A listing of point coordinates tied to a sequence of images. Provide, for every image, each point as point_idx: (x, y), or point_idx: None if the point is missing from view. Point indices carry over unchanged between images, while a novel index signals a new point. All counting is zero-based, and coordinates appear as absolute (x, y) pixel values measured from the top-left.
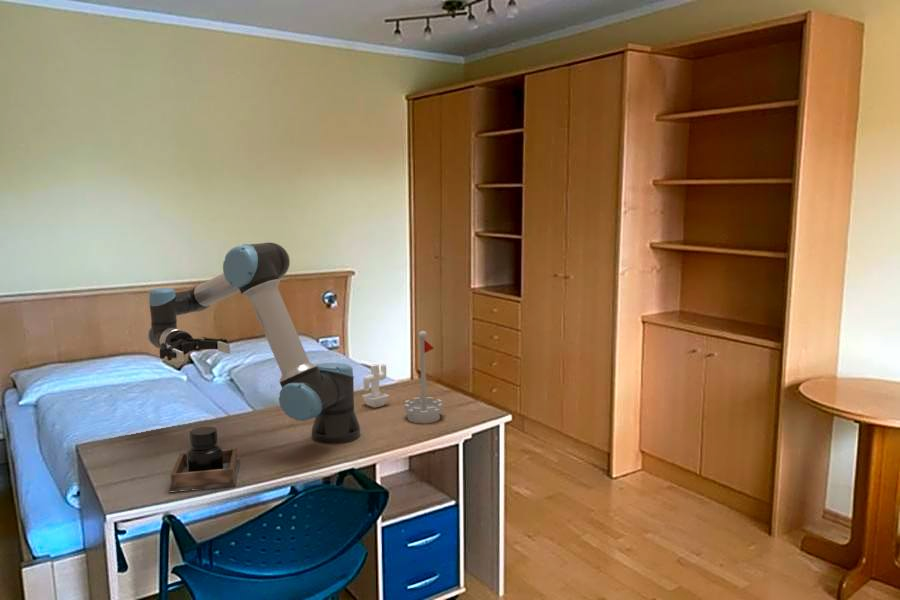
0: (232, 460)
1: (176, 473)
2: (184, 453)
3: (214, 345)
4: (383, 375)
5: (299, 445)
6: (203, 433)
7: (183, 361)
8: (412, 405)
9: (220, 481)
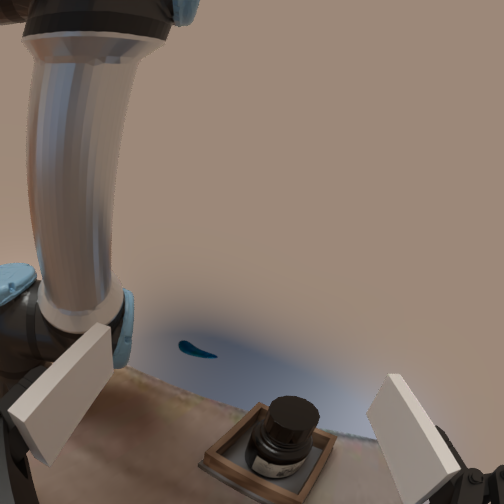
0: (242, 422)
1: (329, 437)
2: (294, 498)
3: (23, 484)
4: None
5: (81, 427)
6: (299, 401)
7: (368, 413)
8: None
9: None
